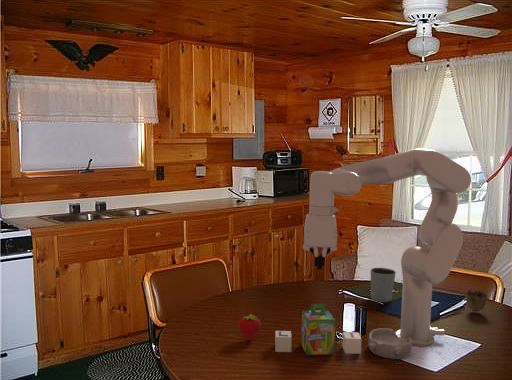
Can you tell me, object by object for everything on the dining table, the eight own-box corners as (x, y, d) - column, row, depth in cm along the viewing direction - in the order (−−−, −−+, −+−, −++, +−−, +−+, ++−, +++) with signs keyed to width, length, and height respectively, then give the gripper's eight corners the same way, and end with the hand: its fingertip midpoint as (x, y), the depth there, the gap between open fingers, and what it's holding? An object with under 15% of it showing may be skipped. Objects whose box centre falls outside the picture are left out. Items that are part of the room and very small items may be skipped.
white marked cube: (290, 345, 170) (290, 330, 169) (291, 352, 165) (291, 336, 164) (275, 345, 170) (275, 330, 169) (275, 352, 165) (275, 336, 164)
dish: (379, 338, 177) (379, 324, 176) (418, 350, 168) (419, 335, 167) (358, 352, 166) (359, 337, 165) (399, 365, 157) (400, 349, 156)
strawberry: (237, 337, 176) (237, 308, 175) (259, 335, 177) (259, 307, 176) (239, 344, 170) (239, 315, 169) (262, 343, 171) (262, 313, 170)
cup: (482, 310, 205) (483, 290, 204) (488, 316, 198) (490, 296, 197) (462, 309, 206) (464, 289, 205) (468, 316, 199) (469, 295, 198)
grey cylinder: (364, 296, 220) (365, 268, 218) (383, 293, 224) (384, 266, 222) (379, 304, 211) (381, 275, 209) (399, 300, 215) (400, 272, 213)
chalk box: (306, 356, 162) (307, 310, 160) (300, 344, 171) (301, 300, 169) (335, 355, 163) (336, 309, 161) (327, 342, 172) (329, 299, 170)
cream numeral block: (357, 347, 169) (358, 332, 169) (360, 353, 165) (361, 338, 164) (342, 346, 170) (343, 331, 169) (344, 353, 165) (345, 337, 164)
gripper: (343, 209, 165) (341, 265, 167) (296, 208, 165) (294, 264, 168) (347, 213, 158) (344, 272, 160) (298, 212, 158) (296, 271, 160)
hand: (319, 268), depth 164 cm, fingers closed
